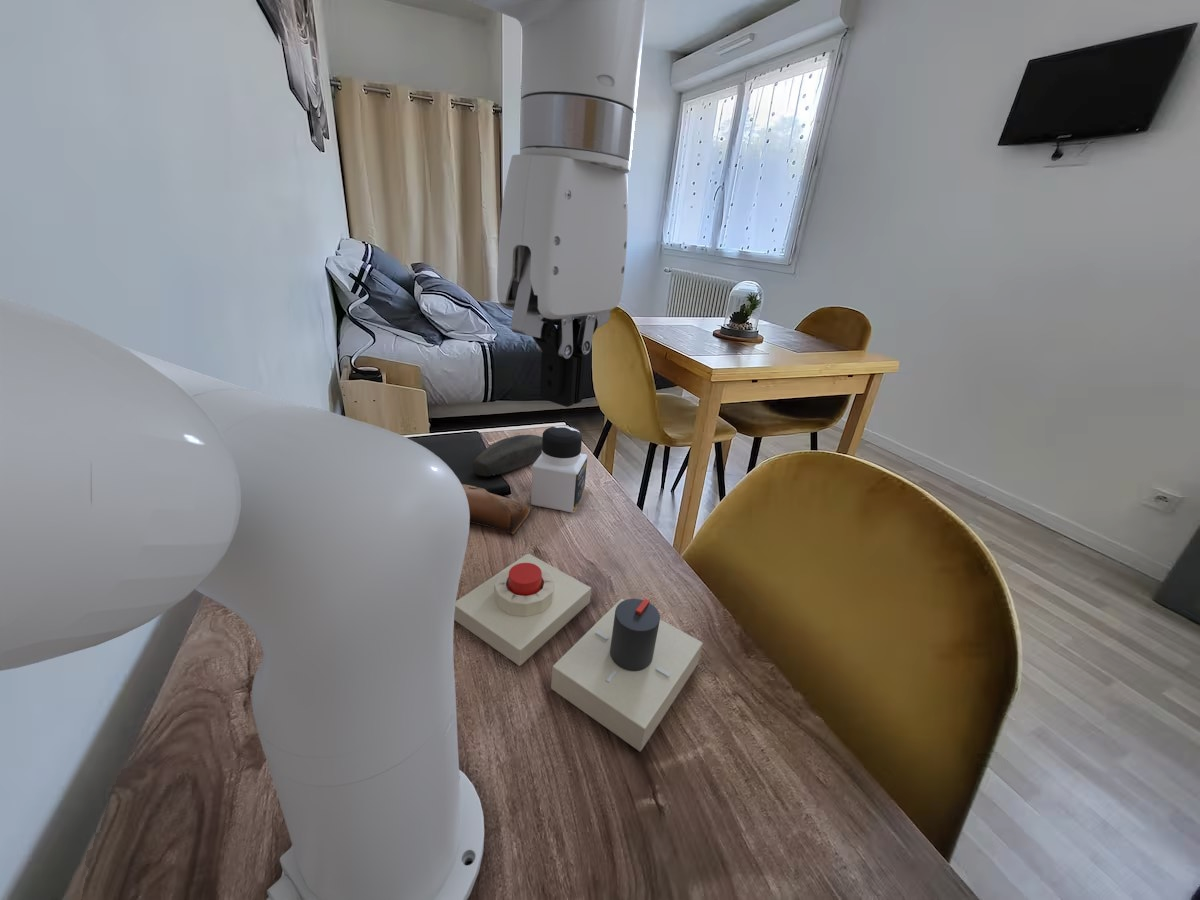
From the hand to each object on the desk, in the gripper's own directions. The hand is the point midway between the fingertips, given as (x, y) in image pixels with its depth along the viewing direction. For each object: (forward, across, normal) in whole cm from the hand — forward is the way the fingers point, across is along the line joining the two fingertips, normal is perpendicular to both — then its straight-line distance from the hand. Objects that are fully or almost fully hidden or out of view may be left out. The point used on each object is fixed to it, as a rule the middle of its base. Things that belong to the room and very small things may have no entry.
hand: (560, 400), depth 40 cm
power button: (+23, -2, -5) cm, 24 cm away
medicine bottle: (+27, -24, -18) cm, 41 cm away
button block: (+27, -2, -5) cm, 28 cm away
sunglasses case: (+27, -12, -26) cm, 39 cm away
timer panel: (+27, -2, +9) cm, 29 cm away
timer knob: (+24, -2, +9) cm, 26 cm away
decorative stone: (+27, -28, -32) cm, 51 cm away
